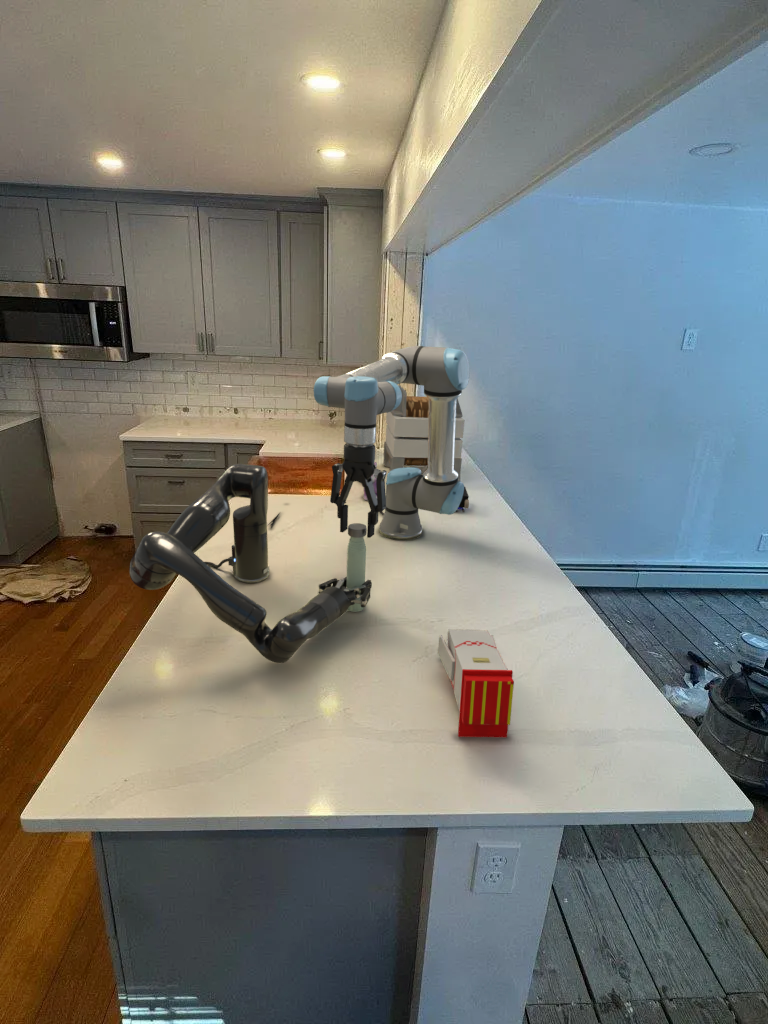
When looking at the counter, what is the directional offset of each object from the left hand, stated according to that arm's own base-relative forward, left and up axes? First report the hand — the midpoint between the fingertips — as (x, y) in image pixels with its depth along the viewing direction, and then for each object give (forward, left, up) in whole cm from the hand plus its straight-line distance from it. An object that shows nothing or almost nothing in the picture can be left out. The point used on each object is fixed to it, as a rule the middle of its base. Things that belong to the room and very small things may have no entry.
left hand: (360, 580), depth 150 cm
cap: (0, -3, +16) cm, 16 cm away
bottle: (0, -3, -7) cm, 7 cm away
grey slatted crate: (-39, +127, -7) cm, 133 cm away
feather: (-58, +41, -7) cm, 72 cm away
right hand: (0, -3, +15) cm, 15 cm away
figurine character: (-5, +89, -7) cm, 89 cm away
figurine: (-39, +80, -7) cm, 90 cm away
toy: (+38, -21, -7) cm, 44 cm away
